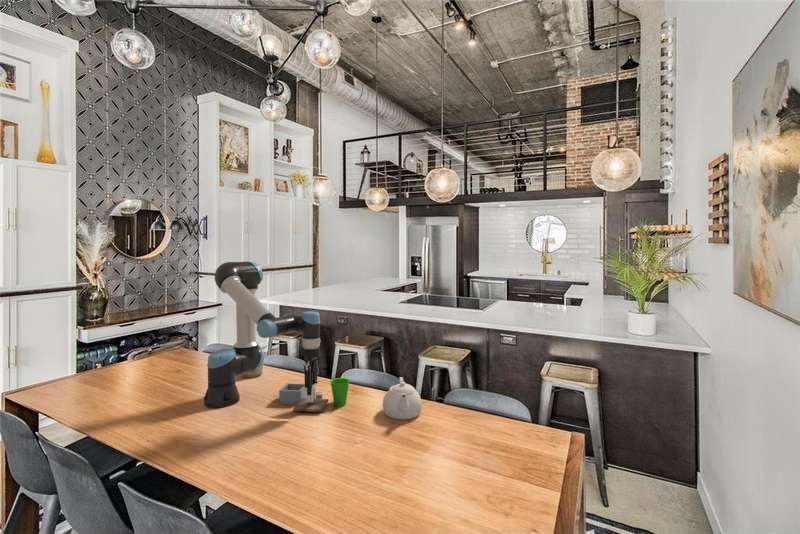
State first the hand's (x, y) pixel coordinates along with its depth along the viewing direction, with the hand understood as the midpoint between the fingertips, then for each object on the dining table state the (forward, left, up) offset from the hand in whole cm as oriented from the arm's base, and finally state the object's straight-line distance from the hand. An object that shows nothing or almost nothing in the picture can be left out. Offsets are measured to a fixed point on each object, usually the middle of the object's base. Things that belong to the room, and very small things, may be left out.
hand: (311, 400), depth 174 cm
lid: (0, 0, -3) cm, 3 cm away
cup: (+11, +8, -5) cm, 14 cm away
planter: (-48, +46, -5) cm, 67 cm away
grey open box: (-11, +9, -5) cm, 15 cm away
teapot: (+40, +2, -5) cm, 40 cm away
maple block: (0, +10, -5) cm, 11 cm away
